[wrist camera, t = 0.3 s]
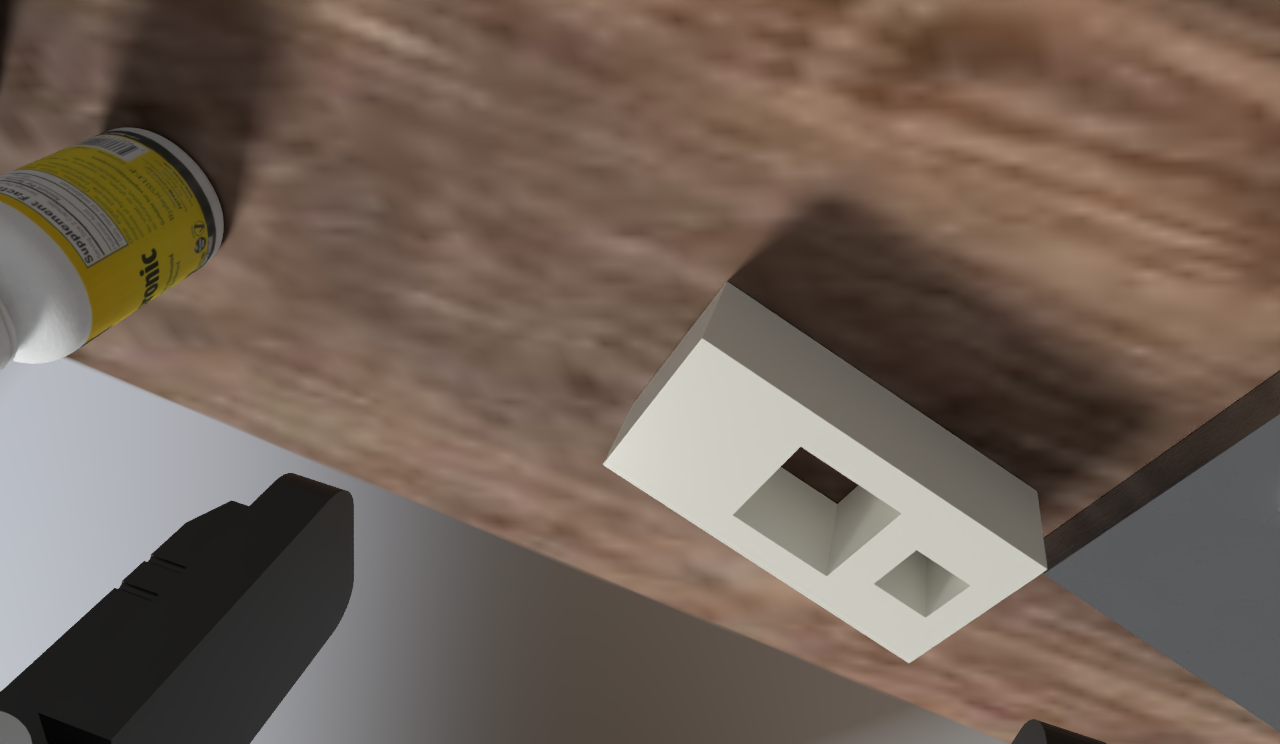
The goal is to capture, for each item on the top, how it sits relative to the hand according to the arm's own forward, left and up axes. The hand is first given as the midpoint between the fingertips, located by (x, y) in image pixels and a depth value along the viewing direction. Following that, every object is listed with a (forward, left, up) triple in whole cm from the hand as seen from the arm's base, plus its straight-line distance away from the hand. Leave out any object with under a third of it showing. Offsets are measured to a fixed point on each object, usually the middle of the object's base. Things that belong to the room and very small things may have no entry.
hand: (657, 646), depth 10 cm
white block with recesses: (+8, +6, -17) cm, 20 cm away
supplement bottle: (+15, -18, -18) cm, 29 cm away
